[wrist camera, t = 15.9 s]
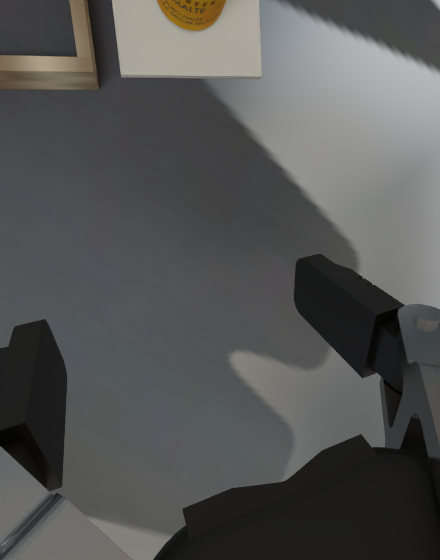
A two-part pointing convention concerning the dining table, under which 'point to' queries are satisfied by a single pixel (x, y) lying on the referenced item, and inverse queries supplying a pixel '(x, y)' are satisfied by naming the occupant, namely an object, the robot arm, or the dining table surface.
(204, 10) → the beer can
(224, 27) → the mat
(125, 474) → the dining table surface
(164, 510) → the dining table surface
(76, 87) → the crate
